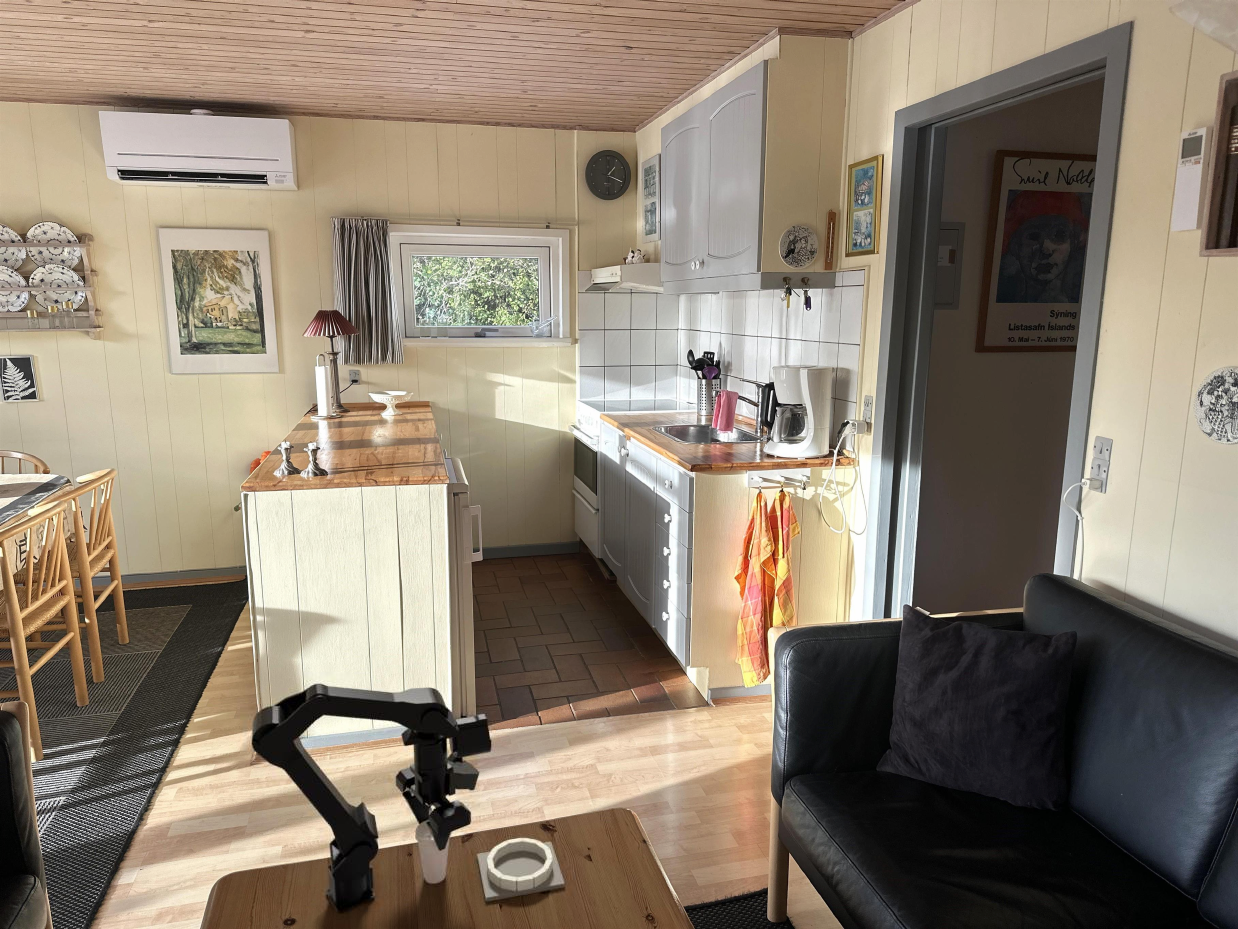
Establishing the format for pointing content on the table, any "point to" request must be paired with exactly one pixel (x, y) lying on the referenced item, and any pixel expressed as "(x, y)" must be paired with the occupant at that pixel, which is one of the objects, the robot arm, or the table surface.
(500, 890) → the socket board
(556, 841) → the table surface
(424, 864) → the smoothie
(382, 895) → the table surface
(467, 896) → the table surface
